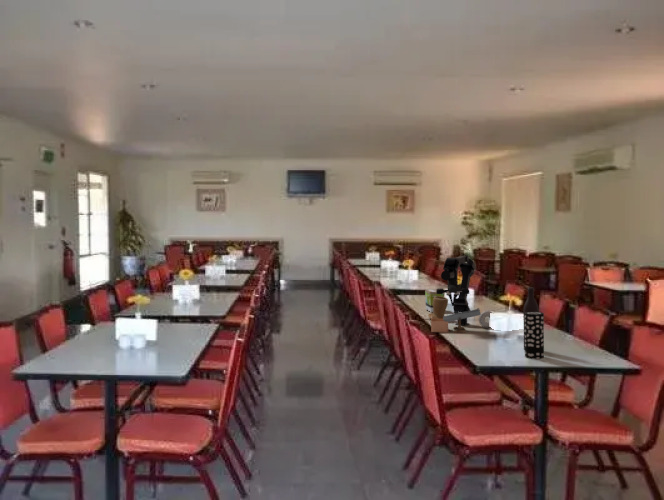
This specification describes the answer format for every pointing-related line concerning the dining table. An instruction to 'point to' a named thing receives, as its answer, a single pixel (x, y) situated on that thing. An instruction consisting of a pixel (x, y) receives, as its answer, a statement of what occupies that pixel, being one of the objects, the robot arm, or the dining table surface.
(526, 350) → the white-spotted black cylinder
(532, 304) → the wine bottle
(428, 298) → the tea box
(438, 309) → the stone cup
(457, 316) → the grey flat piece
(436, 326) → the brown boxy piece
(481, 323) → the donut
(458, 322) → the lever stand
